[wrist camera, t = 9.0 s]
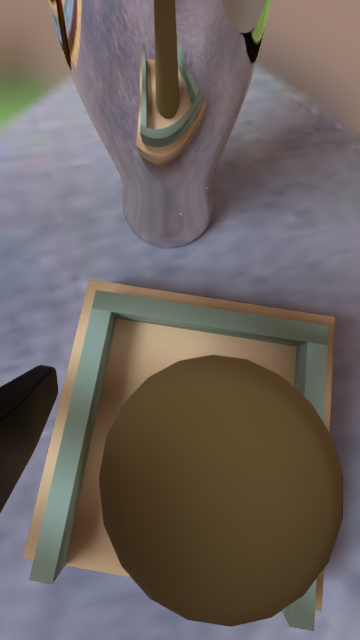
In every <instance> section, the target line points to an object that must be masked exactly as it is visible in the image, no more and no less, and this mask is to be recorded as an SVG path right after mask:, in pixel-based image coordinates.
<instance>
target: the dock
mask: <svg viewBox="0 0 360 640" xmlns="http://www.w3.org/2000/svg"><path fill="white" fill-rule="evenodd" d="M334 325H335V317H331V316H325V315H318V314H312V313H305V312H299V311H292V310H286V309H279V308H273V307H266V306H260V305H253V304H247V303H240V302H234V301H227V300H221V299H214V298H208V297H201V296H194V295H188V294H181V293H175V292H168V291H162V290H155V289H149V288H142V287H136V286H129V285H123V284H116V283H110V282H103V281H97V280H90V279H89V282H88V286H87V290H86V294H85V298H84V303H83V307H82V311H81V315H80V319H79V324H78V328H77V332H76V336H75V340H74V345H73V349H72V353H71V357H70V362H69V366H68V370H67V374H66V378H65V383H64V387H63V391H62V395H61V399H60V404H59V408H58V412H57V416H56V420H55V425H54V429H53V433H52V437H51V441H50V446H49V450H48V454H47V458H46V463H45V467H44V471H43V475H42V479H41V484H40V488H39V492H38V496H37V500H36V505H35V509H34V513H33V517H32V521H31V526H30V530H29V534H28V538H27V542H26V547H25V551H24V555H23V558H25V559H31V560H34V561H33V565H32V570H31V574H30V578H29V580H31V581H37V582H42V583H48V584H53V582H54V581H55V579H56V578H57V576H58V575H59V573H60V572H61V570H62V569H63V567H64V566H71V567H76V568H82V569H88V570H93V571H99V572H105V573H110V574H116V575H121V576H127V577H131V576H130V575H129V574H128V573H127V572H126V571H125V570H124V568H123V567H122V566H121V564H120V562H119V559H118V557H117V555H116V553H115V550H114V548H113V546H112V543H111V541H110V539H109V536H108V534H107V532H106V529H105V527H104V522H103V513H102V504H101V496H100V487H99V474H100V468H101V463H102V457H103V452H104V446H105V440H106V436H107V434H108V432H109V431H110V429H111V427H112V425H113V423H114V421H115V419H116V417H117V415H118V413H119V411H120V409H121V407H122V405H123V403H124V402H125V401H126V400H127V399H128V398H129V397H130V396H131V395H132V394H133V393H134V392H135V391H136V390H137V389H138V388H139V386H140V385H141V384H142V383H143V382H144V381H145V380H146V379H147V378H148V377H150V376H152V375H154V374H155V373H157V372H159V371H161V370H163V369H165V368H167V367H168V366H170V365H172V364H174V363H176V362H178V361H180V360H186V359H191V358H197V357H202V356H208V355H219V356H227V357H234V358H241V359H247V360H249V361H252V362H254V363H256V364H258V365H260V366H262V367H264V368H266V369H269V370H271V371H273V372H275V373H277V374H279V375H280V376H282V377H283V378H284V379H285V380H287V381H288V382H289V383H290V384H291V385H292V386H293V387H294V388H295V389H297V390H298V391H299V392H300V393H301V394H302V395H303V396H304V397H305V398H306V399H308V400H309V401H310V402H311V403H312V405H313V406H314V408H315V410H316V411H317V413H318V415H319V416H320V418H321V419H322V421H323V423H324V424H325V426H326V428H327V429H328V431H329V432H330V415H331V392H332V370H333V347H334ZM323 572H324V569H323V570H322V572H321V573H320V574H319V576H318V577H317V578H316V580H315V581H314V583H313V584H312V585H311V587H310V588H309V589H308V591H307V592H306V594H305V595H304V596H302V597H301V598H299V599H298V600H296V601H295V602H293V603H292V604H290V605H289V606H287V607H286V608H284V609H283V610H282V612H283V614H284V616H285V618H286V620H287V622H288V624H289V626H290V627H295V628H300V629H306V630H311V631H314V618H315V610H319V611H322V595H323Z"/></svg>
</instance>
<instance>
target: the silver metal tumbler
mask: <svg viewBox="0 0 360 640" xmlns="http://www.w3.org/2000/svg"><path fill="white" fill-rule="evenodd" d="M47 1H48V5H49V8H50V11H51V14H52V18H53V21H54V25H55V28H56V31H57V34H58V38H59V41H60V44H61V47H62V50H63V53H64V56H65V59H66V61H67V64H68V67H69V70H70V72H71V75H72V78H73V81H74V84H75V86H76V89H77V91H78V93H79V95H80V98H81V100H82V102H83V104H84V106H85V108H86V111H87V113H88V115H89V117H90V119H91V121H92V123H93V125H94V127H95V129H96V131H97V133H98V135H99V137H100V138H101V140H102V142H103V144H104V146H105V148H106V150H107V151H108V153H109V155H110V157H111V159H112V161H113V162H114V164H115V166H116V168H117V170H118V172H119V174H120V177H121V180H122V184H123V212H124V216H125V219H126V222H127V224H128V226H129V227H130V229H131V230H132V231H133V232H134V233H135V234H136V235H137V236H138V237H139V238H140V239H142V240H143V241H145V242H147V243H149V244H152V245H155V246H159V247H178V246H182V245H186V244H188V243H190V242H192V241H194V240H195V239H197V238H198V237H199V236H201V235H202V234H203V233H204V231H205V230H206V229H207V227H208V226H209V224H210V222H211V219H212V216H213V211H214V195H213V186H212V179H213V175H214V172H215V169H216V167H217V165H218V162H219V160H220V157H221V155H222V153H223V151H224V149H225V146H226V144H227V142H228V140H229V137H230V135H231V133H232V130H233V128H234V125H235V123H236V121H237V118H238V116H239V113H240V110H241V108H242V105H243V102H244V99H245V97H246V94H247V91H248V89H249V86H250V83H251V79H252V75H253V71H254V68H255V64H256V60H257V56H258V53H259V49H260V45H261V42H262V37H263V32H264V28H265V23H266V18H267V13H268V9H269V4H270V0H47Z"/></svg>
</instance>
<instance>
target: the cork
mask: <svg viewBox="0 0 360 640" xmlns="http://www.w3.org/2000/svg"><path fill="white" fill-rule="evenodd" d="M99 487H100V496H101V504H102V513H103V522H104V527H105V529H106V532H107V534H108V536H109V539H110V541H111V543H112V546H113V548H114V550H115V553H116V555H117V557H118V559H119V562H120V564H121V566H122V567H123V568H124V570H125V571H126V572H127V573H128V574H129V575H130V576H131V578H132V579H133V580H134V581H135V582H136V583H137V584H138V586H139V587H140V588H141V589H142V590H143V591H144V592H145V593H146V595H147V596H148V597H149V598H150V599H152V600H153V601H155V602H157V603H159V604H160V605H162V606H164V607H166V608H167V609H169V610H171V611H173V612H175V613H176V614H178V615H180V616H182V617H183V618H185V619H187V620H192V621H199V622H205V623H212V624H218V625H225V626H236V625H240V624H244V623H249V622H253V621H258V620H262V619H266V618H271V617H273V616H274V615H276V614H277V613H279V612H280V611H281V610H283V609H284V608H286V607H287V606H289V605H290V604H292V603H293V602H295V601H296V600H298V599H299V598H301V597H302V596H304V595H305V594H306V592H307V591H308V589H309V588H310V587H311V585H312V584H313V583H314V581H315V580H316V578H317V577H318V576H319V574H320V573H321V572H322V570H323V569H324V567H325V566H326V565H327V563H328V562H329V559H330V556H331V553H332V550H333V547H334V544H335V541H336V537H337V534H338V531H339V528H340V525H341V522H342V519H343V474H342V471H341V467H340V463H339V460H338V456H337V453H336V449H335V445H334V442H333V438H332V436H331V434H330V432H329V431H328V429H327V428H326V426H325V424H324V423H323V421H322V419H321V418H320V416H319V415H318V413H317V411H316V410H315V408H314V406H313V405H312V403H311V402H310V401H309V400H308V399H306V398H305V397H304V396H303V395H302V394H301V393H300V392H299V391H298V390H297V389H295V388H294V387H293V386H292V385H291V384H290V383H289V382H288V381H287V380H285V379H284V378H283V377H282V376H280V375H279V374H277V373H275V372H273V371H271V370H269V369H266V368H264V367H262V366H260V365H258V364H256V363H254V362H252V361H249V360H247V359H241V358H234V357H227V356H219V355H208V356H202V357H197V358H191V359H186V360H180V361H178V362H176V363H174V364H172V365H170V366H168V367H167V368H165V369H163V370H161V371H159V372H157V373H155V374H154V375H152V376H150V377H148V378H147V379H146V380H145V381H144V382H143V383H142V384H141V385H140V386H139V388H138V389H137V390H136V391H135V392H134V393H133V394H132V395H131V396H130V397H129V398H128V399H127V400H126V401H125V402H124V403H123V405H122V407H121V409H120V411H119V413H118V415H117V417H116V419H115V421H114V423H113V425H112V427H111V429H110V431H109V432H108V434H107V436H106V440H105V446H104V452H103V457H102V463H101V468H100V474H99Z"/></svg>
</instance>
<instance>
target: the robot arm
mask: <svg viewBox="0 0 360 640" xmlns="http://www.w3.org/2000/svg"><path fill="white" fill-rule="evenodd" d="M57 394H58V383H57V375H56V370H55V368H54V367H50V366H44V365H39V366H37V367H35V368H33V369H31V370H30V371H28V372H26V373H24V374H23V375H21V376H19V377H17V378H15V379H14V380H12V381H10V382H8V383H7V384H5V385H3V386H1V387H0V513H1V511H2V509H3V507H4V505H5V504H6V502H7V500H8V498H9V496H10V494H11V493H12V491H13V489H14V487H15V485H16V483H17V482H18V480H19V478H20V476H21V474H22V472H23V471H24V469H25V467H26V465H27V463H28V461H29V459H30V458H31V456H32V454H33V452H34V450H35V448H36V446H37V443H38V441H39V439H40V436H41V434H42V432H43V429H44V427H45V424H46V422H47V419H48V417H49V415H50V412H51V410H52V407H53V405H54V402H55V400H56V397H57Z"/></svg>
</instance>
